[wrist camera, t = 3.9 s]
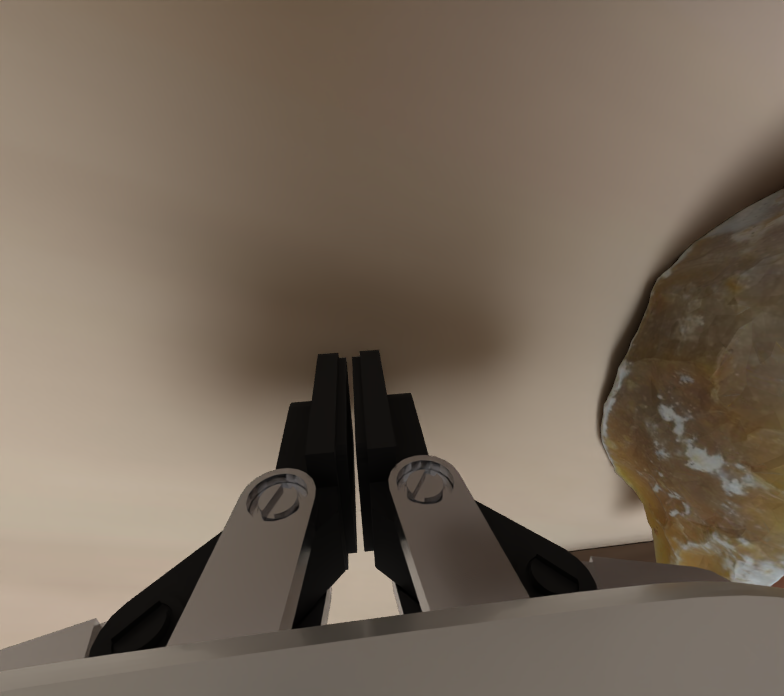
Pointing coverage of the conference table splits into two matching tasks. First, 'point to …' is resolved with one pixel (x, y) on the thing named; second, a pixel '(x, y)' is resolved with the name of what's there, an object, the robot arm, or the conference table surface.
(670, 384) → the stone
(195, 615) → the robot arm
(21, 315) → the conference table surface
